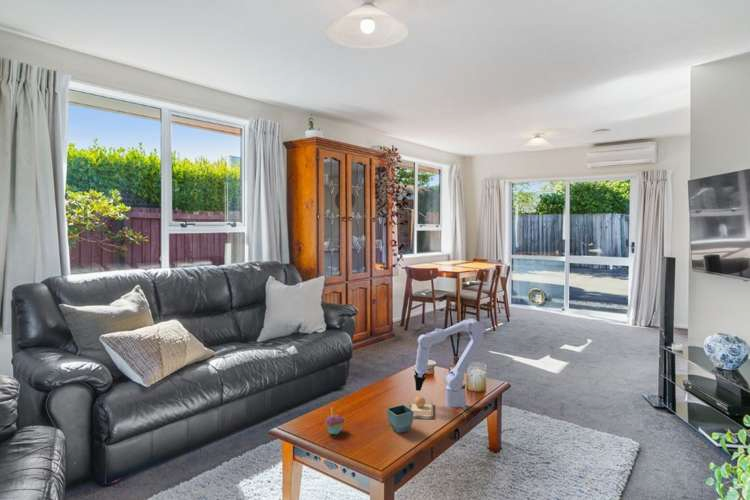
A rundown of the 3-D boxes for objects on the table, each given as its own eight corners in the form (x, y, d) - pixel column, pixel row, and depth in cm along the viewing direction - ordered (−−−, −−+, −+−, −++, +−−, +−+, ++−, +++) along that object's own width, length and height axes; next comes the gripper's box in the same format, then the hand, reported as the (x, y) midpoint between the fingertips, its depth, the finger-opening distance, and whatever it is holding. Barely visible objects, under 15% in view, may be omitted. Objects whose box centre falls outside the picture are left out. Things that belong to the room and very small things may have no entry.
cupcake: (336, 438, 189) (335, 409, 188) (320, 433, 193) (319, 406, 193) (348, 430, 196) (347, 403, 196) (332, 426, 201) (332, 399, 200)
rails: (432, 406, 220) (432, 401, 220) (432, 421, 204) (432, 416, 204) (408, 406, 222) (407, 401, 222) (406, 420, 205) (406, 415, 205)
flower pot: (396, 436, 189) (396, 415, 189) (386, 428, 197) (386, 408, 197) (414, 432, 194) (414, 411, 193) (403, 424, 201) (403, 404, 201)
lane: (432, 406, 220) (432, 404, 220) (432, 421, 204) (432, 418, 204) (408, 406, 222) (407, 403, 222) (406, 420, 205) (406, 418, 205)
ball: (425, 405, 220) (425, 394, 220) (425, 409, 215) (425, 398, 215) (415, 404, 220) (414, 394, 220) (414, 408, 216) (414, 398, 215)
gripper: (414, 355, 225) (410, 382, 225) (413, 362, 211) (409, 391, 211) (428, 357, 224) (424, 384, 225) (428, 364, 210) (424, 393, 210)
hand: (418, 387), depth 218 cm, fingers open, 7 cm apart
